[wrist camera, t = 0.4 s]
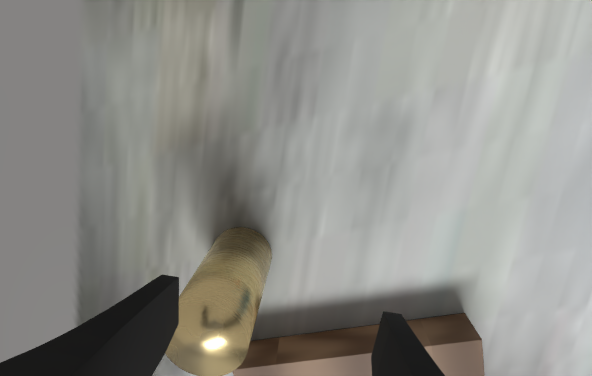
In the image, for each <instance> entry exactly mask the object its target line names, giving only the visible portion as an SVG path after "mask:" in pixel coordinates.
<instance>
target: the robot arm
mask: <svg viewBox="0 0 592 376" xmlns="http://www.w3.org/2000/svg"><path fill="white" fill-rule="evenodd" d="M178 324H179V277H173V276H167V275H161V276H159V277H157V278H156V279H154V280H153V281H151V282H150V283H148V284H147V285H145V286H144V287H142V288H141V289H139V290H137V291H136V292H134V293H133V294H131V295H130V296H128V297H127V298H125V299H123V300H122V301H120V302H119V303H117V304H116V305H114V306H112V307H111V308H109V309H107V310H106V311H104V312H102V313H101V314H99V315H97V316H95V317H94V318H92V319H90V320H88V321H87V322H85V323H83V324H82V325H80V326H78V327H76V328H74V329H72V330H71V331H69V332H67V333H65V334H63V335H61V336H59V337H57V338H55V339H53V340H51V341H49V342H47V343H45V344H43V345H41V346H39V347H36V348H34V349H32V350H29V351H27V352H25V353H22V354H20V355H18V356H15V357H13V358H11V359H8V360H6V361H4V362H1V363H0V376H152V374H153V372H154V371H155V369H156V367H157V366H158V364H159V362H160V361H161V359H162V357H163V356H164V354H165V352H166V350H167V348H168V346H169V344H170V342H171V340H172V337H173V335H174V333H175V331H176V328H177V326H178ZM371 365H372V376H445V375H444V374H443V372H442V371H441V370H440V368H439V367H438V366H437V364H436V363H435V362H434V360H433V359H432V358H431V356H430V355H429V353H428V352H427V351H426V349H425V348H424V346H423V345H422V344H421V342H420V341H419V339H418V338H417V336H416V335H415V334H414V332H413V331H412V329H411V328H410V326H409V325H408V323H407V322H406V320H405V319H404V318H403V316H402V315H401V314H396V313H390V312H384V311H383V314H382V318H381V322H380V325H379V329H378V333H377V336H376V340H375V344H374V347H373V351H372V355H371Z"/></svg>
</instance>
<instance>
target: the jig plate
mask: <svg viewBox="0 0 592 376" xmlns="http://www.w3.org/2000/svg"><path fill="white" fill-rule="evenodd" d="M406 322H407V323H408V325H409V326H410V328H411V329H412V331H413V332H414V334H415V335H416V336H417V338H418V339H419V341H420V342H421V344H422V345H423V346H424V348H425V349H426V351H427V352H428V353H429V355H430V356H431V358H432V359H433V360H434V362H435V363H436V364H437V366H438V367H439V368H440V370H441V371H442V372H443V374H444V375H445V376H484V364H483V349H482V339H481V338H480V336H479V334H478V333H477V331H476V330H475V328H474V327H473V325H472V324H471V322H470V320H469V319H468V317H467V316H466V314H465V313H461V314H453V315H446V316H438V317H431V318H423V319H415V320H408V321H406ZM379 325H380V324H377V325H370V326H362V327H354V328H347V329H339V330H331V331H324V332H316V333H308V334H301V335H293V336H286V337H278V338H270V339H263V340H255V341H250V344H249V347H248V351H247V355H246V357H245V359H244V361H243V362H242V364H241V365H240V366H239V367H238V368H237V369H235V370H234V371H233V374H234V376H372V365H371V355H372V351H373V347H374V344H375V340H376V336H377V333H378V329H379Z"/></svg>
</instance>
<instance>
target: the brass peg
mask: <svg viewBox="0 0 592 376" xmlns="http://www.w3.org/2000/svg"><path fill="white" fill-rule="evenodd" d="M271 259H272V253H271V248H270V246H269V244H268V242H267V241H266V239H265V238H264V237H263V236H262V235H261V234H259V233H258V232H256V231H254V230H252V229H249V228H244V227H236V228H231V229H228V230H226V231H224V232H223V233H222V234H221V235H220V236H219V237H218V238H217V239H216V241H215V242H214V244H213V246H212V247H211V249H210V250H209V252H208V253H207V255H206V256H205V258H204V259H203V261H202V262H201V264H200V266H199V267H198V269H197V270H196V272H195V273H194V275H193V276H192V278H191V279H190V281H189V283H188V284H187V286H186V287H185V289H184V290H183V292H182V293H181V295H180V296H179V324H178V326H177V328H176V331H175V333H174V335H173V337H172V340H171V342H170V344H169V346H168V348H167V350H166V352H165V354H166V355H167V357H168V358H169V359H170V360H171V361H172V362H173V363H174V364H175V365H177V366H178V367H179V368H181V369H182V370H184V371H186V372H188V373H191V374H194V375H198V376H222V375H225V374H228V373H230V372H232V371H234V370H235V369H237V368H238V367H239V366H240V365H241V364H242V362H243V361H244V359H245V357H246V355H247V351H248V347H249V344H250V340H251V336H252V332H253V328H254V324H255V321H256V317H257V313H258V309H259V305H260V302H261V298H262V294H263V290H264V286H265V283H266V279H267V275H268V271H269V267H270V264H271Z"/></svg>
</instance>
